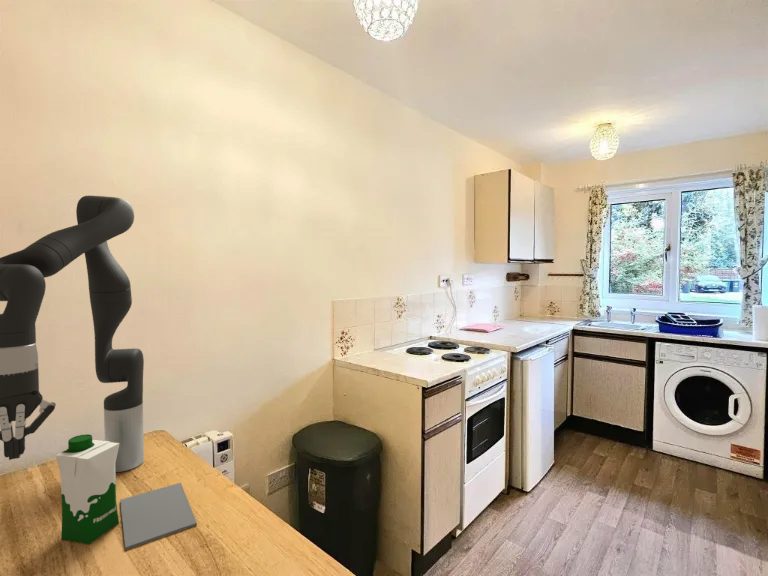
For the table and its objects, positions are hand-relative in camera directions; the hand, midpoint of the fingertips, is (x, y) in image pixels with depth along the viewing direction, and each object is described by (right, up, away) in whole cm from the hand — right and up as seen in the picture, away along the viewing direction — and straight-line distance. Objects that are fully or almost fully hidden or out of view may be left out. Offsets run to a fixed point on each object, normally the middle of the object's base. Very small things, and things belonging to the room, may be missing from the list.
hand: (14, 457), depth 75 cm
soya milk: (+9, -19, +8) cm, 23 cm away
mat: (+19, -19, +14) cm, 30 cm away
